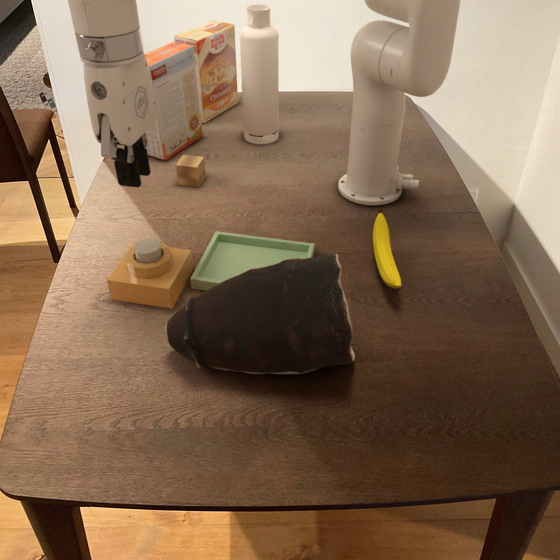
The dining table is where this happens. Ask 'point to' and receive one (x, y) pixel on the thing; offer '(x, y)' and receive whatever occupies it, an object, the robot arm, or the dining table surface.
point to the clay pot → (268, 320)
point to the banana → (384, 252)
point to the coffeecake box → (213, 66)
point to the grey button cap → (148, 251)
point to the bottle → (260, 76)
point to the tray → (243, 256)
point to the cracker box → (173, 100)
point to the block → (190, 170)
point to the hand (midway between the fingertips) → (134, 178)
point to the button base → (151, 278)
